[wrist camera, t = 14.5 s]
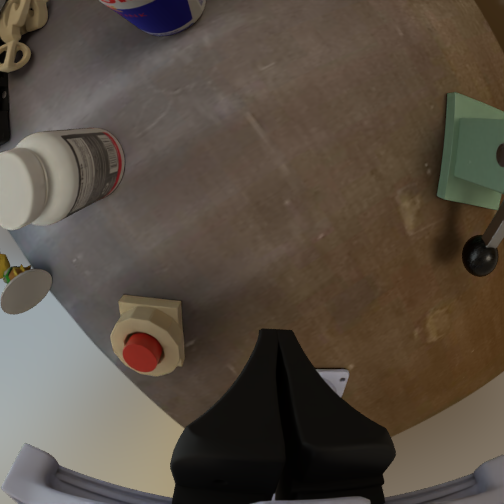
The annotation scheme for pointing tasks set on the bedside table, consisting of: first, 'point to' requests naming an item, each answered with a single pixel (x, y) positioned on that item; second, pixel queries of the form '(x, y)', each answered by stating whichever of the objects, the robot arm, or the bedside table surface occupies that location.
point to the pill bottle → (57, 175)
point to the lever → (484, 247)
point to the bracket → (472, 153)
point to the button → (142, 352)
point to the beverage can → (159, 14)
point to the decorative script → (19, 29)
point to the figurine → (22, 286)
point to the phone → (2, 4)
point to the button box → (151, 329)
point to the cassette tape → (1, 105)
